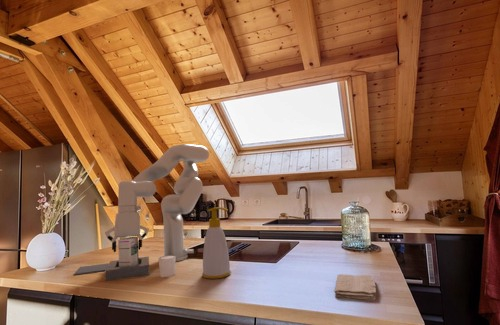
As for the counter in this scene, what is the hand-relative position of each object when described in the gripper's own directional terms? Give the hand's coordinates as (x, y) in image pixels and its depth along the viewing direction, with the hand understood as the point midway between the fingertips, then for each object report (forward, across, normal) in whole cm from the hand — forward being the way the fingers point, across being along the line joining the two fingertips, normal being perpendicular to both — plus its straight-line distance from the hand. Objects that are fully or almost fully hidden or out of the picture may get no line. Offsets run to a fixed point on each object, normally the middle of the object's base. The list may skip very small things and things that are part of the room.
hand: (127, 250), depth 121 cm
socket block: (+9, -1, 0) cm, 9 cm away
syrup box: (+10, -1, 0) cm, 10 cm away
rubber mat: (+10, +15, -14) cm, 23 cm away
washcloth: (+10, -70, +58) cm, 91 cm away
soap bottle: (+9, -34, +22) cm, 41 cm away
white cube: (+10, -16, +12) cm, 22 cm away
